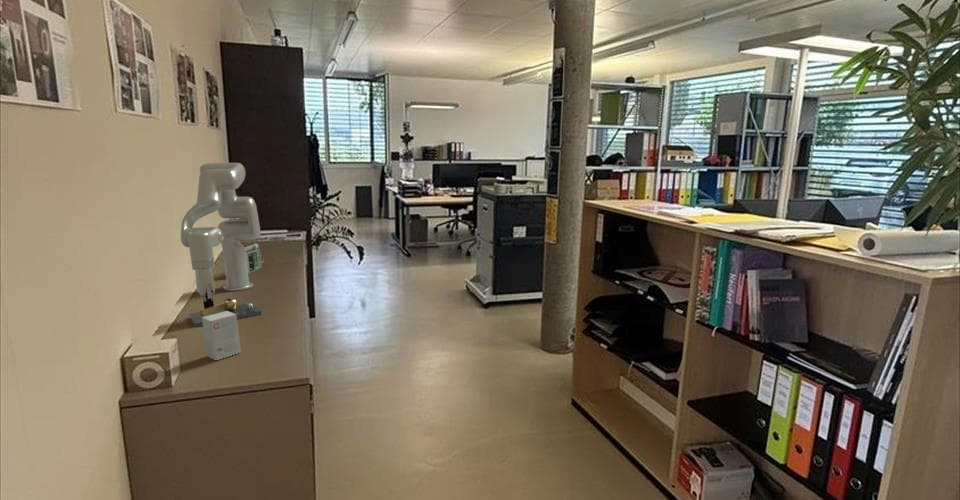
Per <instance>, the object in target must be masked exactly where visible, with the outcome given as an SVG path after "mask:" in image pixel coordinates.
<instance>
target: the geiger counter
mask: <svg viewBox="0 0 960 500" xmlns="http://www.w3.org/2000/svg"><path fill="white" fill-rule="evenodd" d="M244 248H245V250H246V259H247V268H248V273H249V274H251V273H250V272H252V273H254V272H256V271H255V270H257V269H259V268H262V264H263V263H264V261H265V259H264V257H263V255H262V254H261V250H260V247H259V244H258V243H253V244H250V245H248V246H245V247H244ZM262 269H263V268H262ZM253 271H254V272H253ZM257 271H258V270H257Z"/></svg>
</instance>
